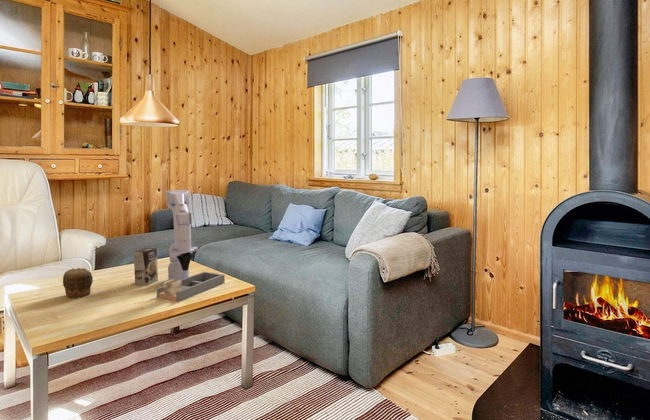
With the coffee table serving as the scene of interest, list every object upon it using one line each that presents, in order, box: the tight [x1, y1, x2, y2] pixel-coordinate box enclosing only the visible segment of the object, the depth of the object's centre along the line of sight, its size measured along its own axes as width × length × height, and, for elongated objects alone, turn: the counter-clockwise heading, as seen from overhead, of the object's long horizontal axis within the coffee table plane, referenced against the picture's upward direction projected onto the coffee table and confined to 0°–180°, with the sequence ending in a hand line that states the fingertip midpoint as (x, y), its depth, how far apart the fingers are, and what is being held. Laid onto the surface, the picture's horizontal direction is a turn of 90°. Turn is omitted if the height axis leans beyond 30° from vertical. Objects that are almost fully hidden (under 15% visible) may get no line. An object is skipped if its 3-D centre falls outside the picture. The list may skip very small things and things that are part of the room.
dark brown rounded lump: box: [62, 267, 94, 299], centre depth 174 cm, size 11×11×12 cm
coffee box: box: [133, 247, 159, 287], centre depth 193 cm, size 9×6×16 cm
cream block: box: [163, 279, 182, 296], centre depth 172 cm, size 5×5×5 cm
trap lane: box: [156, 271, 226, 303], centre depth 183 cm, size 12×29×4 cm, turn 155°
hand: (185, 270), depth 179 cm, fingers closed
